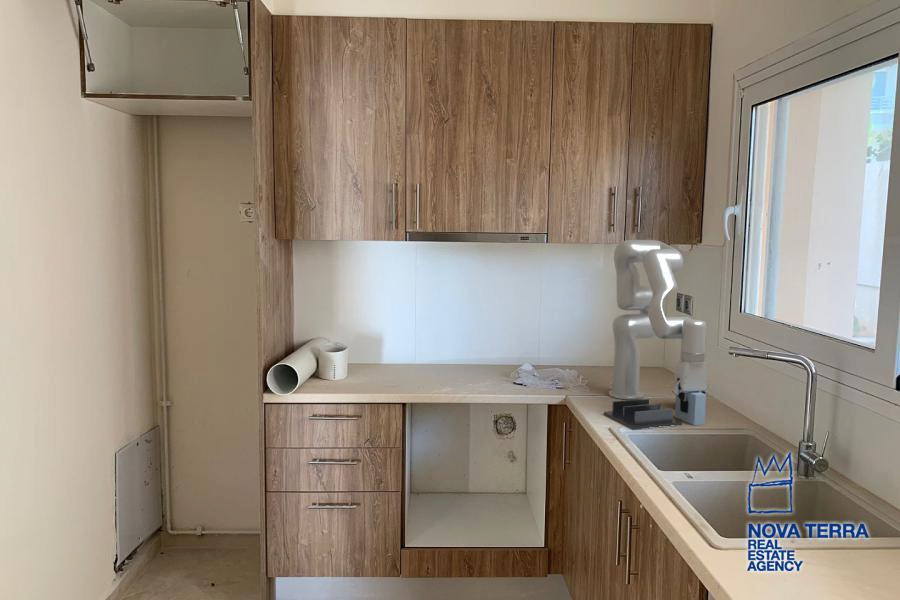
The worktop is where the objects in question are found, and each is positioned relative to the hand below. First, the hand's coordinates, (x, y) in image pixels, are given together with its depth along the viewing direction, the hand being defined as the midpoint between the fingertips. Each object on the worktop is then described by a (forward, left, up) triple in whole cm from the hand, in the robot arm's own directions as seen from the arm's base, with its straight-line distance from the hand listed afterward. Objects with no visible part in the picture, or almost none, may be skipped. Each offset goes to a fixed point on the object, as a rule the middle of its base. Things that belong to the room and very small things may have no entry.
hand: (689, 410), depth 211 cm
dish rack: (-5, -15, -3) cm, 16 cm away
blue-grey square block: (0, 0, -3) cm, 3 cm away
